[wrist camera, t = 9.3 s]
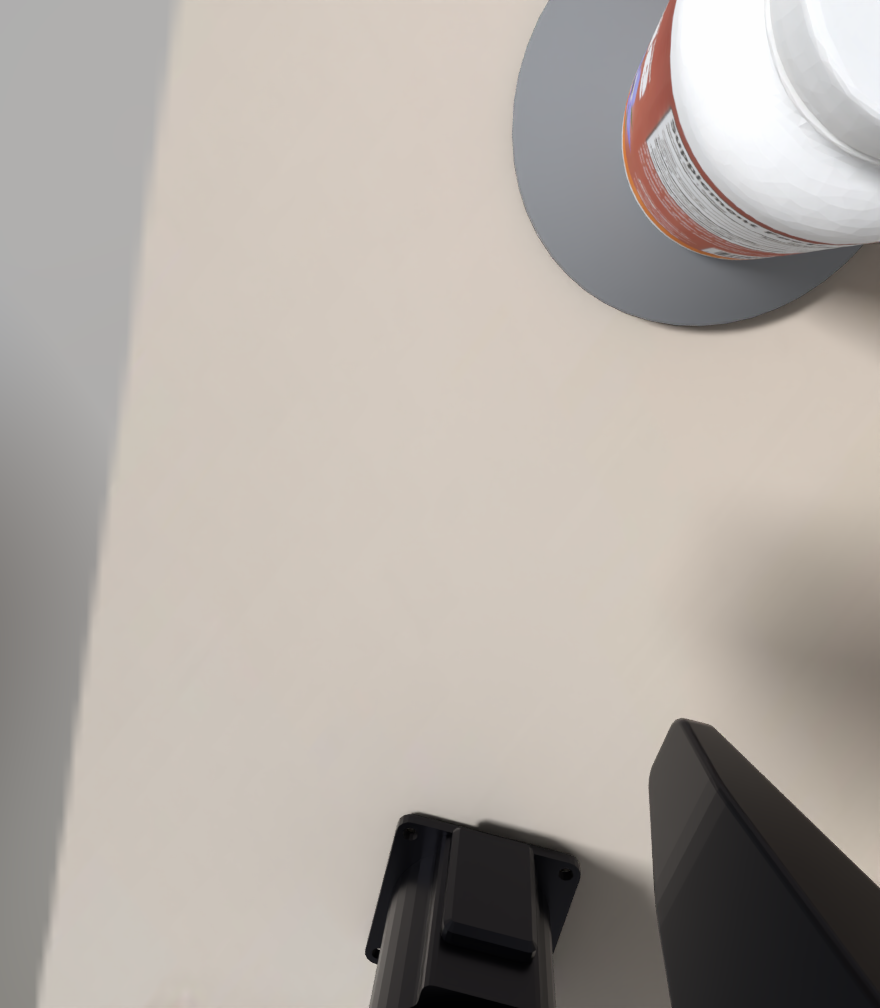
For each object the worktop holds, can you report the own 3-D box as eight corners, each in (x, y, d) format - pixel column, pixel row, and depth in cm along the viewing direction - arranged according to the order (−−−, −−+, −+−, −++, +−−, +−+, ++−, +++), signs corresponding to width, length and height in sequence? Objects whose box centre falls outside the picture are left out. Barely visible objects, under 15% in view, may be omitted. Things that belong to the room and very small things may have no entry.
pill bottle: (770, -77, 17) (1175, -706, 6) (931, 131, 18) (1537, -120, 7) (565, 133, 19) (611, -86, 8) (720, 313, 19) (949, 335, 9)
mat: (824, 362, 20) (833, 364, 19) (472, 277, 20) (472, 277, 20) (985, -57, 17) (1001, -69, 17) (572, -150, 17) (573, -165, 17)
